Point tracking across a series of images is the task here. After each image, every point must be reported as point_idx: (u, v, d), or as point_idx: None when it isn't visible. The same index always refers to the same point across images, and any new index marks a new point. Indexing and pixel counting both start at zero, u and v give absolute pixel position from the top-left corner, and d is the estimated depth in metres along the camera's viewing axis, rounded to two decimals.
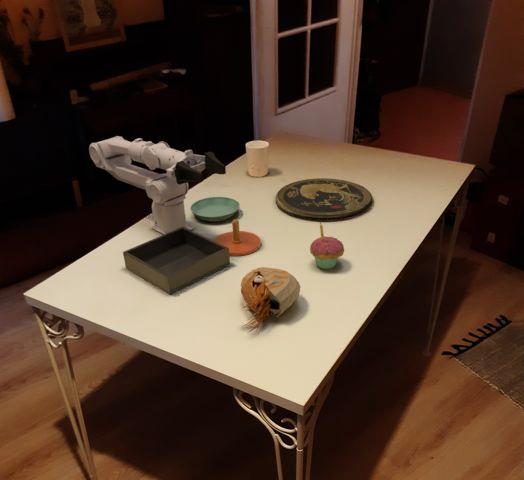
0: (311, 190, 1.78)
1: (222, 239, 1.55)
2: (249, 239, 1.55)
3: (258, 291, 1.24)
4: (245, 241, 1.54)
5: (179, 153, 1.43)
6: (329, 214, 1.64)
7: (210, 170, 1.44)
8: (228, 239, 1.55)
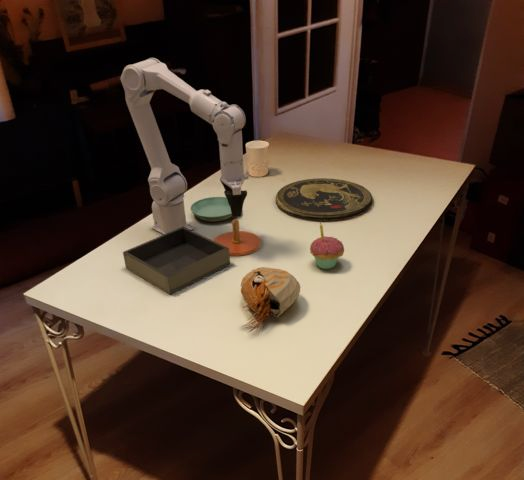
0: (311, 190, 1.78)
1: (222, 239, 1.55)
2: (249, 239, 1.55)
3: (258, 291, 1.24)
4: (245, 241, 1.54)
5: None
6: (329, 214, 1.64)
7: (227, 186, 1.48)
8: (228, 239, 1.55)
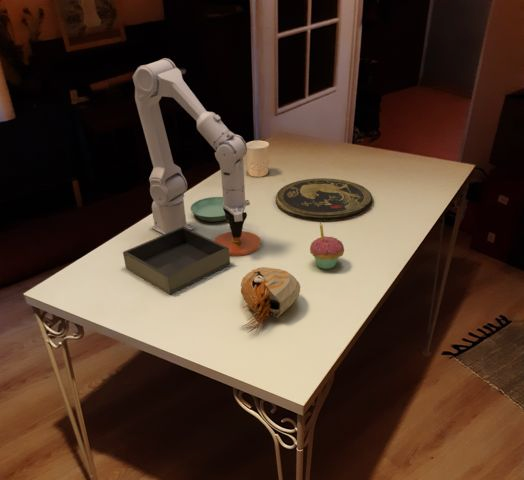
0: (311, 190, 1.78)
1: (222, 239, 1.55)
2: (249, 239, 1.55)
3: (258, 291, 1.24)
4: (245, 241, 1.54)
5: (244, 192, 1.45)
6: (329, 214, 1.64)
7: None
8: (228, 239, 1.55)
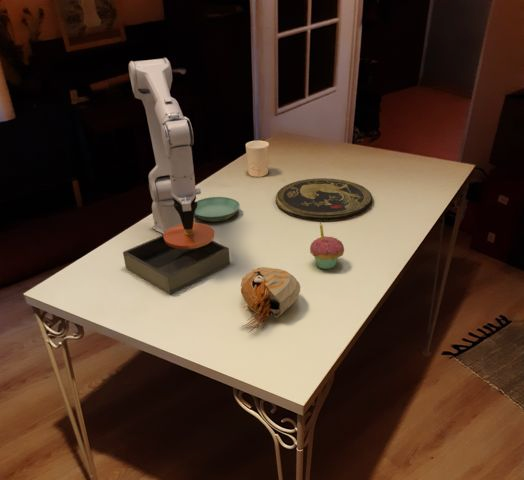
0: (311, 190, 1.78)
1: (174, 231, 1.44)
2: (203, 231, 1.44)
3: (258, 291, 1.24)
4: (198, 233, 1.43)
5: (194, 179, 1.34)
6: (329, 214, 1.64)
7: None
8: (180, 231, 1.44)
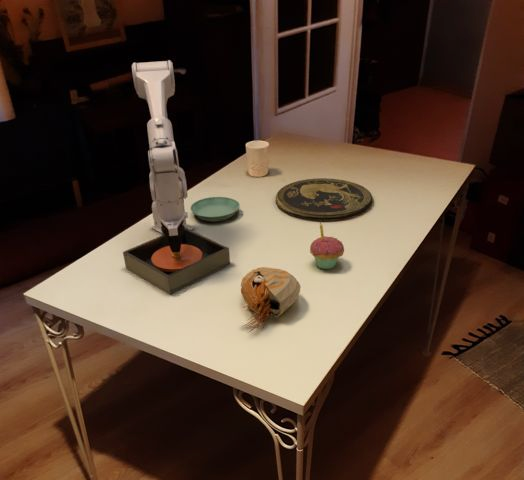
0: (311, 190, 1.78)
1: (162, 253, 1.45)
2: (191, 253, 1.45)
3: (258, 291, 1.24)
4: (186, 255, 1.44)
5: (181, 204, 1.35)
6: (329, 214, 1.64)
7: None
8: (168, 253, 1.45)
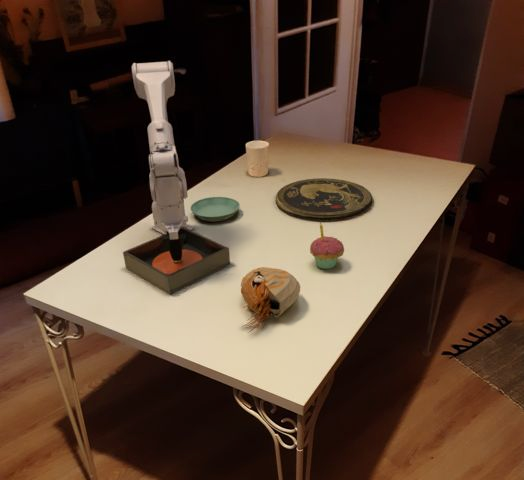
0: (311, 190, 1.78)
1: (163, 258, 1.46)
2: (191, 258, 1.46)
3: (258, 291, 1.24)
4: (186, 260, 1.45)
5: (181, 207, 1.36)
6: (329, 214, 1.64)
7: None
8: (169, 258, 1.46)
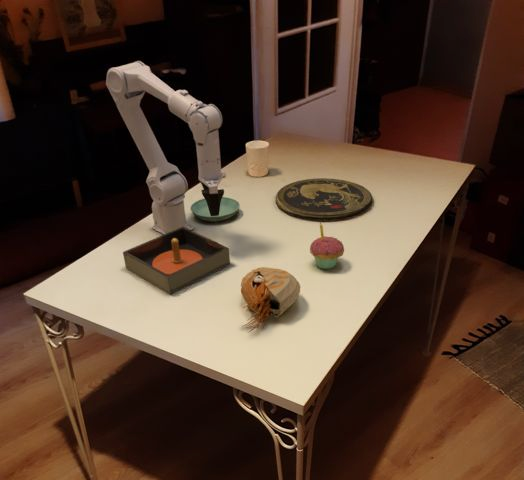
0: (311, 190, 1.78)
1: (163, 258, 1.46)
2: (191, 258, 1.46)
3: (258, 291, 1.24)
4: (186, 260, 1.45)
5: (220, 164, 1.42)
6: (329, 214, 1.64)
7: (205, 185, 1.49)
8: (169, 258, 1.46)
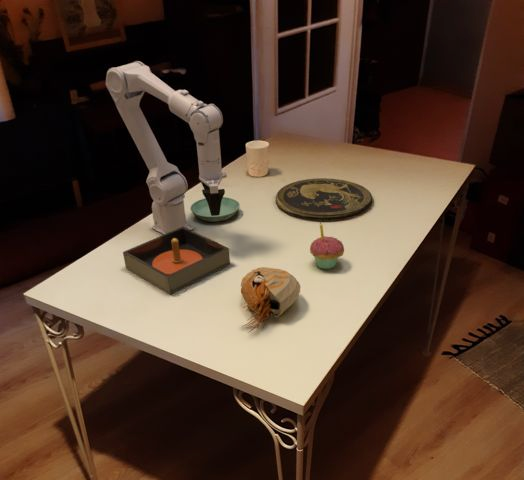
0: (311, 190, 1.78)
1: (163, 258, 1.46)
2: (191, 258, 1.46)
3: (258, 291, 1.24)
4: (186, 260, 1.45)
5: None
6: (329, 214, 1.64)
7: (205, 184, 1.49)
8: (169, 258, 1.46)
